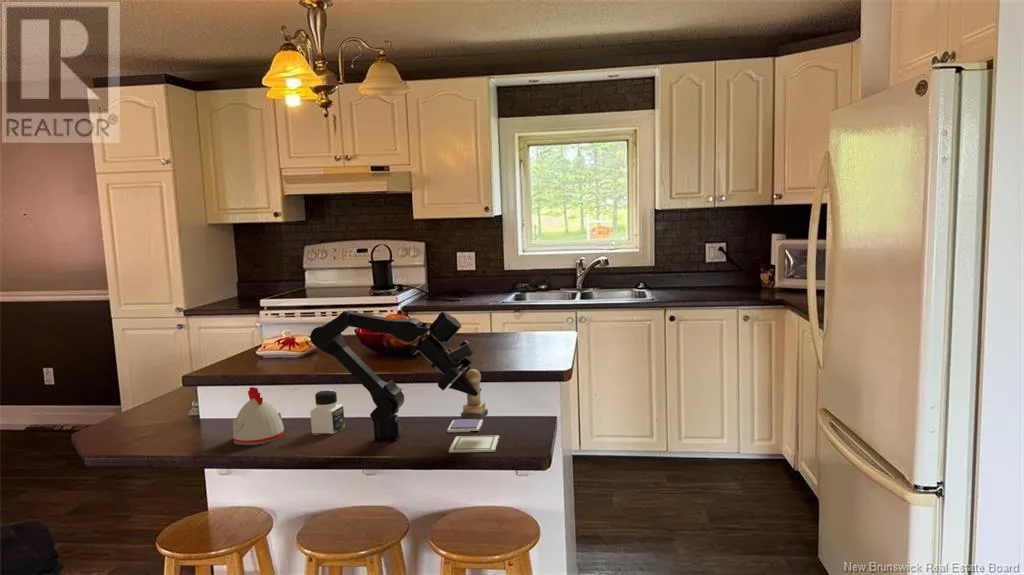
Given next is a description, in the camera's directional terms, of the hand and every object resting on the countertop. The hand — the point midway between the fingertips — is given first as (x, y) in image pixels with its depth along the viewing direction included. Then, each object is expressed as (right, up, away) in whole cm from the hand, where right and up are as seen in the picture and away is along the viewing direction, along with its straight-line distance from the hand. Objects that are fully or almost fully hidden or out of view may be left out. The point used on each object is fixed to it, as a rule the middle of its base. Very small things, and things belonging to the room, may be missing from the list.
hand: (478, 393), depth 177 cm
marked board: (-1, -13, -4) cm, 14 cm away
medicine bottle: (-45, -14, +15) cm, 50 cm away
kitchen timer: (-65, -15, +12) cm, 67 cm away
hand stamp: (-1, -7, +1) cm, 7 cm away
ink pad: (-4, -12, +12) cm, 17 cm away
